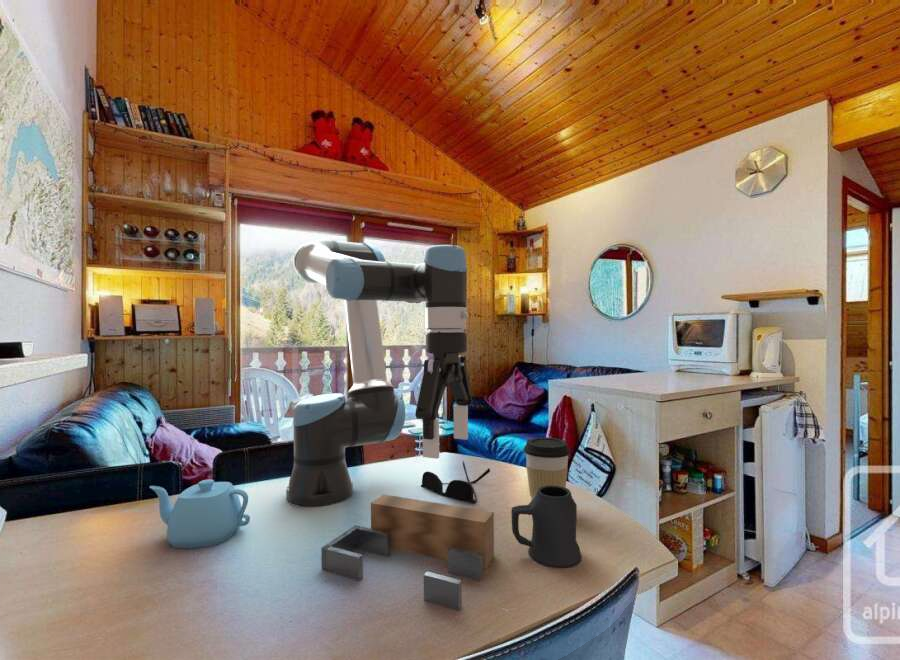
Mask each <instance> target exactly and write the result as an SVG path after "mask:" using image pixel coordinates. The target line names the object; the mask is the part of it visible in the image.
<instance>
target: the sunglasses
mask: <svg viewBox="0 0 900 660" xmlns="http://www.w3.org/2000/svg"><path fill="white" fill-rule="evenodd" d="M462 467H463V470H464V474H465V477H466V480H467V481H465V480H461V479H453V480H450V482H447V483H445V482H444V483H443V481H442V480H441V479H440V478H439V476H438V475H437V474H435V473H434V472H432V471H424V472H423V474H422V478H421V484H420V487H421V488H424V489H427V490H429V491H430V492H433V493H435V494H437V495H439V496H441V497H445V498H448V499H452V500H453V499H454V500H458V501H461V502H466V503H469V504H473V505H474V504H476V503H477V501H478V499H477V495H476V491H475V489H474V487H473V485H472V484H476V483H477V482H479V481H480V480H482V479H483V478H484V477H485V476H486V475H488V474H489V473H490V472H491V468H490V467H489V468H487V469H486V470H485V471H484V472H483V473H482V474H481V475H480V476H478V477H477V478H476V479H474V480H473V481H470V479H469V476H468V473H467V468H466V464H465V461H462ZM444 485H447V487H446V489H445V491H444V490H443V487H444Z"/></svg>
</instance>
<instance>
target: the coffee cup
mask: <svg viewBox="0 0 900 660" xmlns="http://www.w3.org/2000/svg"><path fill="white" fill-rule="evenodd" d="M523 453H525V458H526V463H525V464H526V465H525V467H526V473H527V481H528V488H529V489H528V491H529V496H530V499H531V500H530V502H531V501H532V499H533V498H534V497H535V496H536V494H537V490H538V488H539V487H541V486H545V485H557V486H562V487H565V488H567V477H568V470H569V469H568V468H569V466H568V463H569V462H568V461H569V456H570V455H571V448H570V447H569V446H568V443H567V441H566V440H563V439H560V438H556V437H555V438H554V437H545V436H544V437H543V436H541V437H532V438H528V439H527V441H526V443H525V445H524V447H523Z"/></svg>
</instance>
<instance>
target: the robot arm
mask: <svg viewBox="0 0 900 660" xmlns="http://www.w3.org/2000/svg"><path fill="white" fill-rule="evenodd" d="M423 261H424V262H422V263H408V262H407V263H405V262H392V261H386V256H385V253H384V252H383V250H382V249H381V248H380V247H378V246H377V245H375V244H369V243H366V242H351V241H341V240H331V239H315V240H311V241H308V242H306V243H304V244H302V245H300V246H299V247H298V249H297V250H296V251H295V253H294V256H293V261H292V264H293V267H294V270H295V272H296V273H297V275H298V276H299V277H300V278H301V279H303V280H305V281H307V282H309V283H313V284H322V285H323V286H325V288H326V290H327V293H328V295H329V297H330V298H332V299H335V300H344V309H345V317H346V318H345V319H346V327H347V338H348V346H349V347H348V348H349V357H350V366H351V374H352V386H351V388H350V389H349V390H348V391H347V395H348V397H347V398H346V397H345V395H344V394H343V393H339V392H338V393H337V392H334V393H324V394H319V395H318V394H317V395H314V396H310V397H306V398H304V399H302V400H300V401H298V402H297V403H296V404H295V405H294V408H293V409H294V410H293V420H292V426H293V467H292V470H291V473H290V478H289V482H288V484H287V487H286V491H285V493H286V494H285V495H286V497H285V498H286V501H287V502H288V503H289V504H291V505H293V506H296V507H303V508H304V507H305V508H317V507H318V508H319V507H320V508H321V507H325V506H331V505H334V504H337V503H341V502H343V501H345V500H347V499H349V498H350V497H351V496H352V495H353V493H354V490H353V489H354V488H353V487H354V485H353V484H354V483H353V479H352V478H351V476H350V472H349V469H348V466H347V465H348V464H347V462H346V448H350V447H358V446H364V445H372V444H378V443H379V444H382V443H385V442H388V441H392V440H393V441H394V440H396V439H397V438H398V437H400V435H401V434H402V431H403V429H404V426H405V422H406V421H405V420H406V404H405V401H404V400H403V399H404V398H403V397H402V396H401V395H400V394H398V393H397V392H395V389H394V388H395V387H394V385H393V384H391V383H390V382H389V381H388V380H387V373H386V366H385V365H386V364H385V363H386V362H385V356H384V349H383V347H384V346H383V337H382V331H381V322H380V315H379V313H380V312H379V307H378V306H379V305H378V301H385V302H386V301H387V302H405V303H409V304H414V303H416V304H419V303H423V302H425V329H426V330H428V332H426V334H425V351H426V353H428V354H432V355H433V357H432V358H433V359H424V361H423V374H422V379H421V384H420V388H419V389H420V390H419V393H418V398H417V404H416V409H415V414H414V416H415V418H416V419H418V420H422V458H427V459H437V460H438V459H439V458H440V419H439V418H437V416H438V413H439V410H440V406H441V403H442V400H443V396H444V393H445V390H446V388H447V387H448V386H449V388H450V389H449V390H450V392H451V394H452V397H453V399H454V402H455V404H454V405H453V439H456V440H457V439H458V440H465V441H467V440H469V419H468V418H469V416H468V415H469V408H468V407H469V406H472V405H473V394H472V389H471V384H470V378H469V373H468V368H467V357H466V355H460V354H464V353H466V352H467V351H468V337H467V336H468V334H467V333H466V332H464V330H466V329H467V319H468V318H469V315H470V314H469V313H468V312H467V295H468V293H467V291H468V290H467V287H468V286H467V285H468V284H467V283H468V282H467V278H468V273H467V271H468V266H467V257H466V251H465V249H464V248H463V246H462V247H461V246H459V245H455V244H454V245H453V244H437V245H431V246H429V247H427V248H426V250H425V252H424V259H423Z"/></svg>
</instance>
